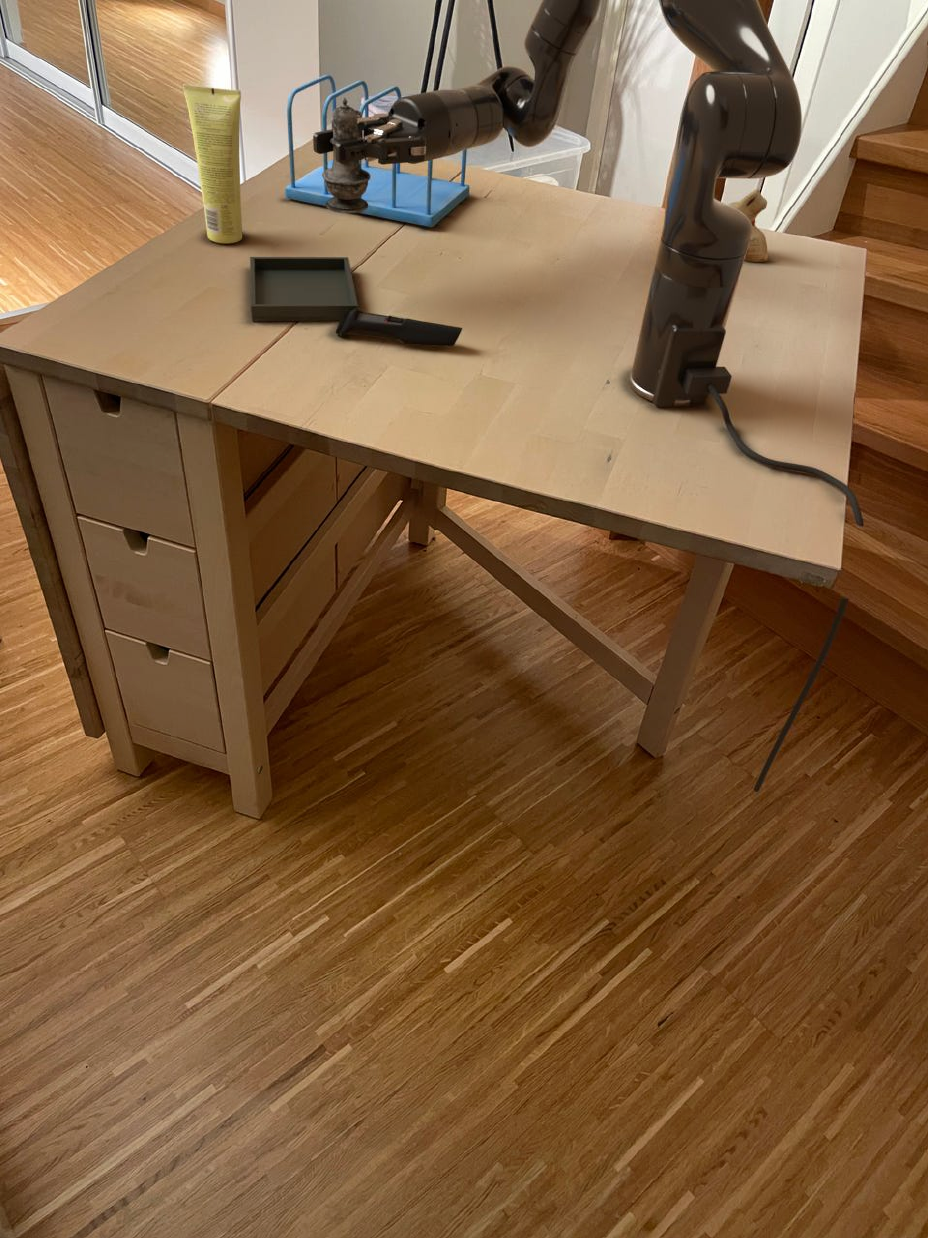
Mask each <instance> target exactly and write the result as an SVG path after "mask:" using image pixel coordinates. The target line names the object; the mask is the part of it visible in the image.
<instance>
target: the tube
mask: <svg viewBox="0 0 928 1238" xmlns="http://www.w3.org/2000/svg"><path fill="white" fill-rule="evenodd" d="M182 88H183V90H182V91H183V93H184V94H183V95H184V97H185V101H186V106H187V111H188V115H189V121H190V126H191V133H192V137H193V143H194V151H195V155H196V161H197V162H196V163H197V168H198V174H199V175H198V176H199V182H200V190H201V196H202V197H201V198H202V205H203V212H204V220H205V227H206V236H207V239H209V240H210V241H212V242H214V243H216V244H217V243H218V244H234V243H237V242H240V241H241V240H242V239H243V224H242V222H243V221H242V220H243V219H242V199H241V196H242V195H241V167H240V166H241V165H240V164H241V163H240V162H241V161H240V116H241V115H240V113H241V99H242V92H241V90H239V89H229V88H228V89H227V88H219V87H210V86H201V85H194V84H185V83H183V84H182Z"/></svg>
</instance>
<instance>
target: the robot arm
mask: <svg viewBox="0 0 928 1238" xmlns="http://www.w3.org/2000/svg"><path fill="white" fill-rule="evenodd" d="M601 2H602V0H541V2H540V4H539V7H538V9H537V11H536V13H535V15H534V18H533V20H531V21H532V22H531V24H530V26H529V28H528V29H527V32H526V35H525V37H524V40H523V47H524V50H525V53H526V55H527V56H528V58H529V60H530V62H531V64H532V67H533V68H534V78H533V77H531V76H530V74H528V73H527V72H526V71H525V70H524V69H522V68H520V67H517V66H513V65H507V66H502V67H499V68H498V69H497V70H495V71H494V72H493V73H491V74H489V75H487V76H486V77H485V78H483V79H481V80H480V81H479V82H477V83H476V84H474V85H471V86H465V87H460V88H454V89H437V90H431V91H427V92H426V91H425V92H421V93H416V94H411V95H405V96H401V98H399V99H398V98H397V99H396V100H395V101H394V102H393V104H392V106H391V107H390V109H389V111H388V112H387V113H384V112H383V113H382V112H381V113H375V114H374V115H372V116H369V117H365V116H363V117H362V118H361V112H360V111H359V110H357V109H354V110H355V111H356V113H357V122H358V138H356V139H351V140H346V141H342V142H338V143H337V144H336V146H335V151H336V161H337V162H338V163H341V164H345V163H349V162H354V161H358V160H362V161H363V160H364V161H365V160H366V161H369V162H373V161H376V160H377V163H378V165H379V164H380V165H382V166H383V165H392V164H396V165H397V163H400V164H410V165H417V164H420V163H424V162H428V161H429V160H433V161H434V160H437V159H440V158H445V157H449V156H453V155H455V154H457V153H461V152H463V150H465V149H467V150H468V149H472V148H476V147H481V146H484V145H488V144H491V143H493V142H494V141H495V140H497V139H498V137H499V136H500V135H501V133H502V131H503V130H505V131H506V132H507V134H509V135H510V137H512V138H513V139H514V140H515V141H516V142H517V143H518V144H519V145H521V146H523V147H525V148H532V147H537V146H538V145H540V144H542V143H543V142H544V141H545V140H547V139H548V137H549V136H550V135H551V133H552V132H553V130H554V129H555V127H556V125H557V123H558V120H559V118H560V114H561V111H562V106H563V102H564V99H565V95H566V90H567V87H568V83H569V79H570V75H571V71H572V68H573V65H574V62H575V60H576V58H577V56H578V55H579V54H578V53H579V52H580V50H581V48H582V46H583V44H584V43H585V40H586V39H587V36H588V35H589V32H590V31H591V29H592V27H593V25H594V22H595V20H596V18H597V16H598V13H599V10H600V6H601ZM658 4H659V6H660V10H661V13H662V16H663V18H664V21H665V23H666V25H667V26H668V28H669V29H670V31H671V32H672V33H673V35H674V36H675V37H676V38H677V39H678V40H679V41H680V43H682V44H683V46H685V47H686V48H687V49H688V50H690V52H691V53H693V55H694V56H696V57H697V58H698V59H699V60H700V61H701V62H703V63H704V64H705V65H706V66H707V67H709V68H710V69H711V70H712V71H705V72H702V73H701V74H699V75H698V76H697V77H696V78H695V80H693V82H692V83H691V84H690V86H689V89H688V91H687V92H686V96H685V98H684V101H683V104H682V108H681V111H680V116H679V121H678V128H677V133H676V137H675V145H674V152H673V159H672V164H671V170H670V175H669V180H668V187H667V191H666V196H665V197H666V198H665V206H664V217H663V219H664V220H663V225H662V231H661V235H660V240H659V243H658V249H657V253H656V257H655V263H654V266H653V270H652V271H653V272H652V276H651V281H650V285H649V289H648V294H647V298H646V303H645V308H644V313H643V317H642V321H641V326H640V331H639V334H638V340H637V344H636V350H635V354H634V358H633V359H634V360H633V364H632V368H631V370H630V373H629V378H628V383H629V386H630V388H631V389H632V390H633V392H635V393H636V394H637V395H638V396H640V397H642V398H644V399H646V400H648V401H650V402H652V403H653V405H654V406H655V407H657V408H662V407H664V408H665V407H666V408H667V407H668V408H669V407H699V406H706V405H707V404H706V403H707V400H708V396H709V395H711V396H712V398H713V399H714V400H715V402H716V404H717V406H718V407H719V409H720V411H721V415H722V418H723V422H724V424H725V427H726V429H727V431H728V432H729V434H730V436H731V438H732V440H733V441H734V442H735V445H736V446H737V448H738V449H739V450H740V451H741V452H742V453H743V454H744V455H746V456H748V457H749V458H751V459H752V460H754V461H757V462H758V463H760V464H763V465H766V466H769V467H773V468H777V469H780V470H781V469H782V470H787V471H788V470H789V471H795V472H800V473H805V474H809V475H813V476H815V477H818V478H820V479H822V480H824V481H825V482H827V483H829V484H830V485H832V486H834V487H836V488H837V489H838V490H840V491H841V492H842V493H843V494H844V495H845V496H846V498H847V500H848V501H849V504H850V506H851V509H852V513H853V516H854V520H855V524H856V525H857V526H859V527H864V526H865V523H864V518H863V514H862V511H861V508H860V507H861V506H860V505H859V502H858V500H857V497H856V496H855V493H854V492H853V491H852V489H851V488H850V487H849V486H848V485H847V484H845V483H844V482H843V481H841V480H839V479H838V478H836V477H834V476H833V475H830V474H829V473H827V472H825V471H823V470H821V469H818V468H816V467H812V466H808V465H803V464H798V463H793V462H792V463H791V462H786V461H780V460H775V459H772V458H768V457H766V456H764V455H761V454H759V453H758V452H756V451H754V450H753V449H751V448H749V447H748V446H747V445H746V444H745V443H744V441H742V439H741V438H740V436H739V434H738V432H737V431H736V429H735V426H734V425H733V422H732V420H731V416H730V412H729V409H728V408H727V405H726V402H724V400H723V398H722V396H721V395H727V393H728V392H729V391H728V390H729V387H730V384H731V381H732V378H733V377H732V376H733V375H732V374H731V373H730V371H729V370H728V369H727V367H726V366H717V365H718V362H719V358H720V354H721V351H722V348H723V344H724V340H725V337H726V333H727V330H726V325H727V322H728V318H729V315H730V312H731V308H732V306H733V305H732V304H733V301H734V297H735V294H736V290H737V286H738V283H739V280H740V277H741V273H742V270H743V266H744V263H745V261H744V259H745V256H746V252H747V249H748V246H749V242H750V239H751V235H752V223H751V221H750V220H749V218H748V217H747V216H746V215H745V214H743V213H742V212H740V211H739V210H737V209H735V208H733V207H731V206H729V204H727V203H725V202H722V201H720V200H717V199H716V198H715V192H716V185H717V179H748V180H749V179H751V180H752V179H753V180H754V179H762V178H768V177H773V176H776V175H778V174H780V173H783V171H784V170H786V169H787V168H788V167H789V166H790V165H791V163H792V162H793V160H794V158H795V156H796V154H797V152H798V149H799V146H800V142H801V137H802V129H803V128H802V127H803V126H802V125H803V114H802V105H801V100H800V96H799V92H798V87H797V85H796V83H795V80H794V77H793V74H792V73H791V71H790V69H789V67H788V65H787V63H786V61H785V59H784V57H783V55H782V53H781V51H780V49H779V46H778V45H777V43H776V41H775V39H774V37H773V34H772V32H771V30H770V28H769V26H768V23H767V20H766V18H765V16H764V13H763V11H762V7H761V5H760V2H759V0H658ZM332 138H333V119H332V120H331V129H327V130H326V131H323V130H321V131H316V132H314V133H313V135H312V144H313V145H312V147H313V151H314V153H316V154H319V155H323V153H327V154H328V153H333V144H332V143H331V142H330V140H331V139H332ZM849 600H850V598H849V597H848V598H842V599H840V602H839V605H838V608H837V611H836V613H835V616H834V619H833V621H832V624H831V627H830V629H829V632H828V635H827V636H826V639H825V642H824V644H823V646H822V649H821V650H820V653H819V655H818V657H817V659H816V661H815V664H814V665H813V668H812V670H811V672H810V674H809V676H808V678H807V680H806V682H805V684H804V685H803V688H802V690H801V692H800V695H798V698H797V700H796V702H795V704H794V706H793V708H792V710H791V712H790V713H789V716H788V717H787V719H786V721H785V724H784V725H783V727H782V729H781V731H780V733H779V735H778V737H777V739H776V741H775V743H774V744H773V747H772V749H771V751H770V753H769V755H768V757H767V760H766V762H765V763H764V765H763V768H762V770H761V772H760V774H759V776H758V778H757V780H756V782H755V785H754V787H753V791H754V792H755V793H759V792H760V790H761V788H762V786H763V784H764V781H765V779H766V777H767V774H768V772H769V770H770V768H771V767H772V765H773V762H774V760H775V758H776V756H777V754H778V752H779V751H780V748H781V747H782V744H783V742H784V741H785V739H786V736H787V735H788V733H789V731H790V729H791V727H792V725H793V724H794V721H795V720H796V717H797V716H798V713H799V712H800V710H801V708H802V706H803V704H804V702H805V700H806V698H807V697H808V694H809V693H810V692H811V691H810V690H811V688H812V686H813V684H814V683H815V681H816V678H817V676H818V674H819V673H820V671H821V668H822V666H823V664H824V662H825V660H826V658H827V656H828V654H829V651H830V649H831V646H832V644H833V641H834V640H835V638H836V635H837V633H838V630H839V628H840V624H841V622H842V619H843V617H844V614H845V611H846V609H847V605H848V602H849Z"/></svg>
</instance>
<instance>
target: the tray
mask: <svg viewBox="0 0 928 1238" xmlns="http://www.w3.org/2000/svg"><path fill="white" fill-rule="evenodd" d="M249 265H250V266H249V270H250V271H249V276H250V280H249V281H250V312H251V322H340V321H341V319H342V317H343V316H344V314H345V312H346V311H347V309H348V310H350V311H352V310H354V309H356V308H357V309H359V304H358V299H357V295H356V290H355V285H354V280H353V279H354V278H353V274H352V270H351V265H350V259H349V257H348V256H250V257H249Z"/></svg>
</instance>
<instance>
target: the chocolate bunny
mask: <svg viewBox="0 0 928 1238" xmlns="http://www.w3.org/2000/svg"><path fill="white" fill-rule="evenodd" d="M728 205H729V206H731V207H733V208H735V209H737V210H739V211H740V212H742V213H743V214H745V215H746V216H747V217H748V218H749V220H750V221H751V223H752V235H751V239H750V242H749V246H748V249H747V252H746V256H745V259H744V262H750V263H763V262H765V263H766V262H768V261H769V257H770V254H769V251H768V244H767V239H766V236H765V234H764V233H763V232H762V230H760V228H759V227H757V226H756V218H757V216H759V214H760V213H761V212H762V211H764V210H765V209H766V208H767V205H768V201H767V199H766V198H765V197H763V195H762V193H761V192H760V189H759V188H756V189H754V190H753V191H751V192H750V193H748V194H747V195H745V196H744V197H743V198H742V199H740V200H739V201H734V202H730V203H728Z"/></svg>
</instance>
